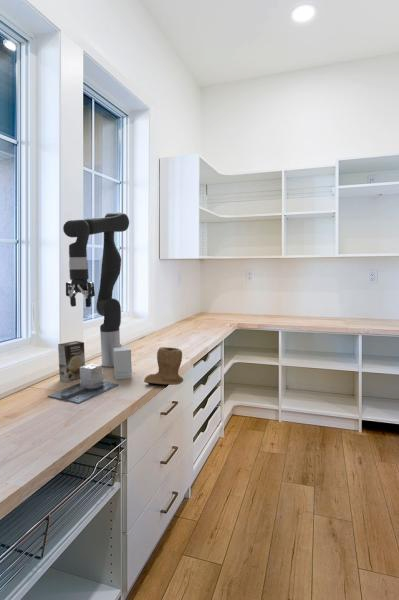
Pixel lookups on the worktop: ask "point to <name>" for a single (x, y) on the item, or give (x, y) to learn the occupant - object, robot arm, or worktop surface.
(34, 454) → the worktop surface
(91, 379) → the brushed steel cube
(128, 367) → the supplement box
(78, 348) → the coffee box
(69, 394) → the grey base plate
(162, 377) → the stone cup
